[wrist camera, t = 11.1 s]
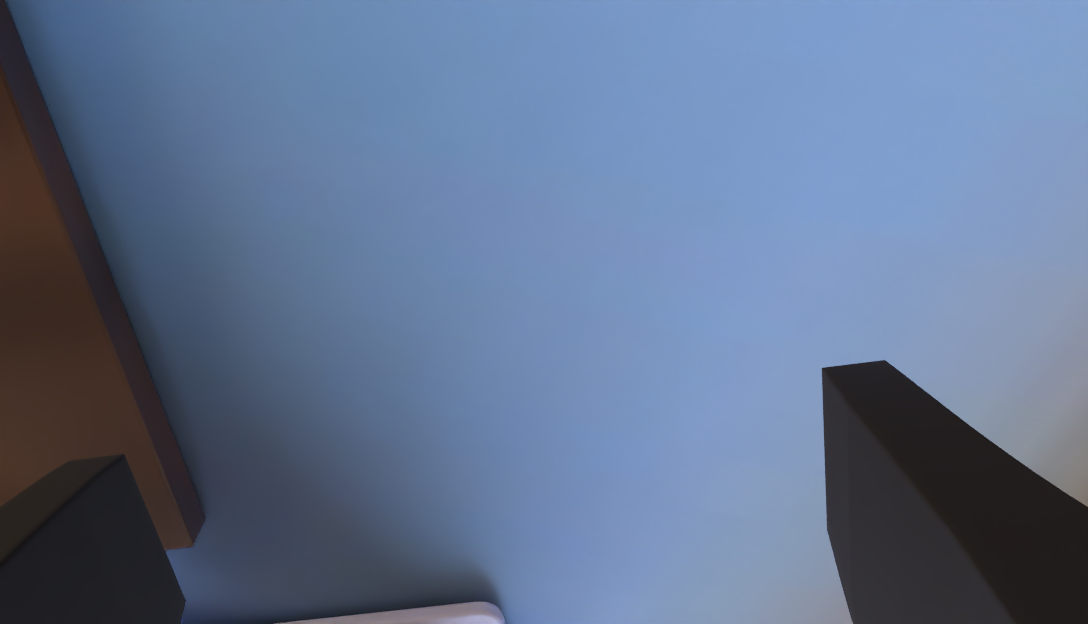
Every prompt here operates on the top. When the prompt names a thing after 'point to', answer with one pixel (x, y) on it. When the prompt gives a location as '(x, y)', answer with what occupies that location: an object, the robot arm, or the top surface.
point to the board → (69, 325)
